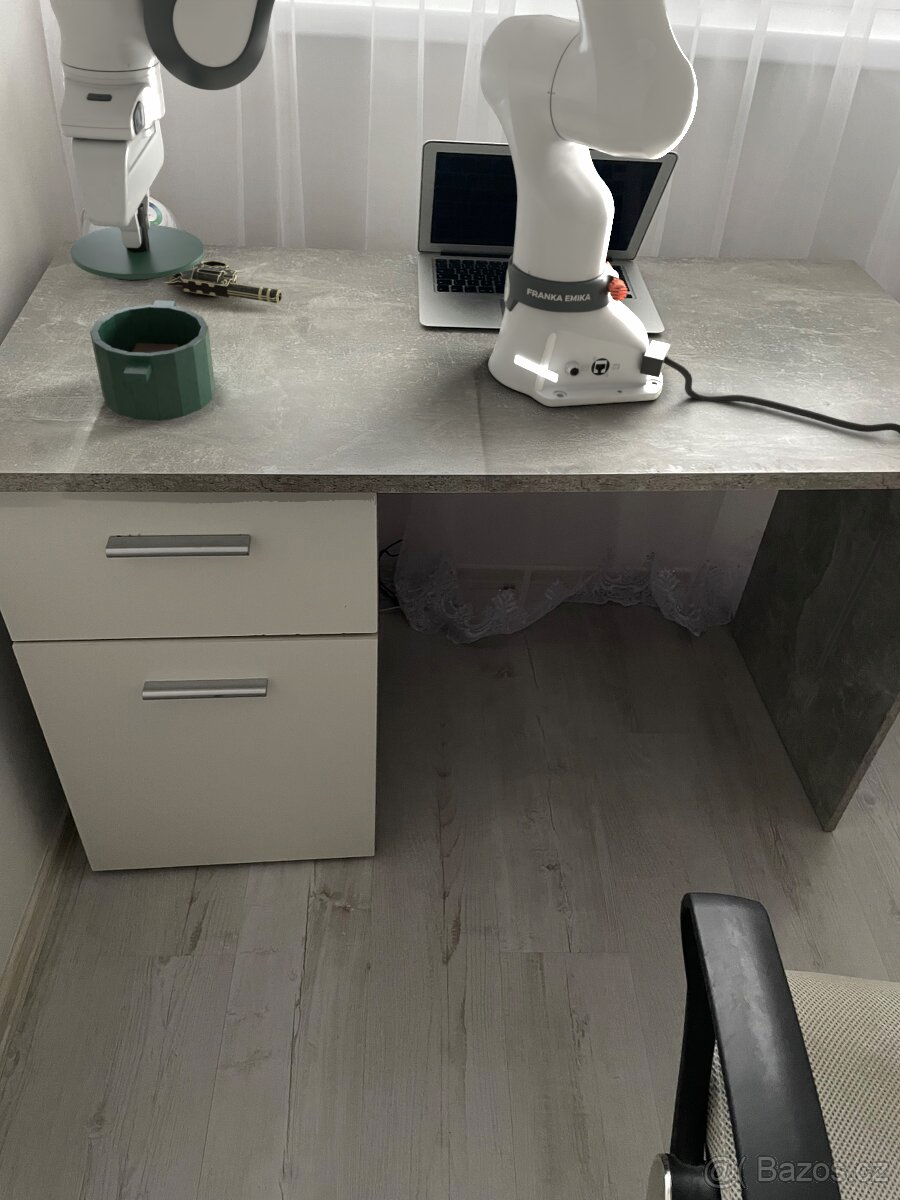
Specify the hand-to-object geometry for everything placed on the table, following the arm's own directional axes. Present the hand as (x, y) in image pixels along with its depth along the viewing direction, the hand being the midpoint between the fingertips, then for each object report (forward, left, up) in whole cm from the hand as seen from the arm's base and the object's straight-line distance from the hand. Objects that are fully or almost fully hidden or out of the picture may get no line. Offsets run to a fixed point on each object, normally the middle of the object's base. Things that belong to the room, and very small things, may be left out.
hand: (137, 238), depth 100 cm
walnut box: (0, 0, -18) cm, 18 cm away
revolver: (-3, -32, -19) cm, 37 cm away
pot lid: (0, 0, -2) cm, 2 cm away
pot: (0, 0, -19) cm, 19 cm away
